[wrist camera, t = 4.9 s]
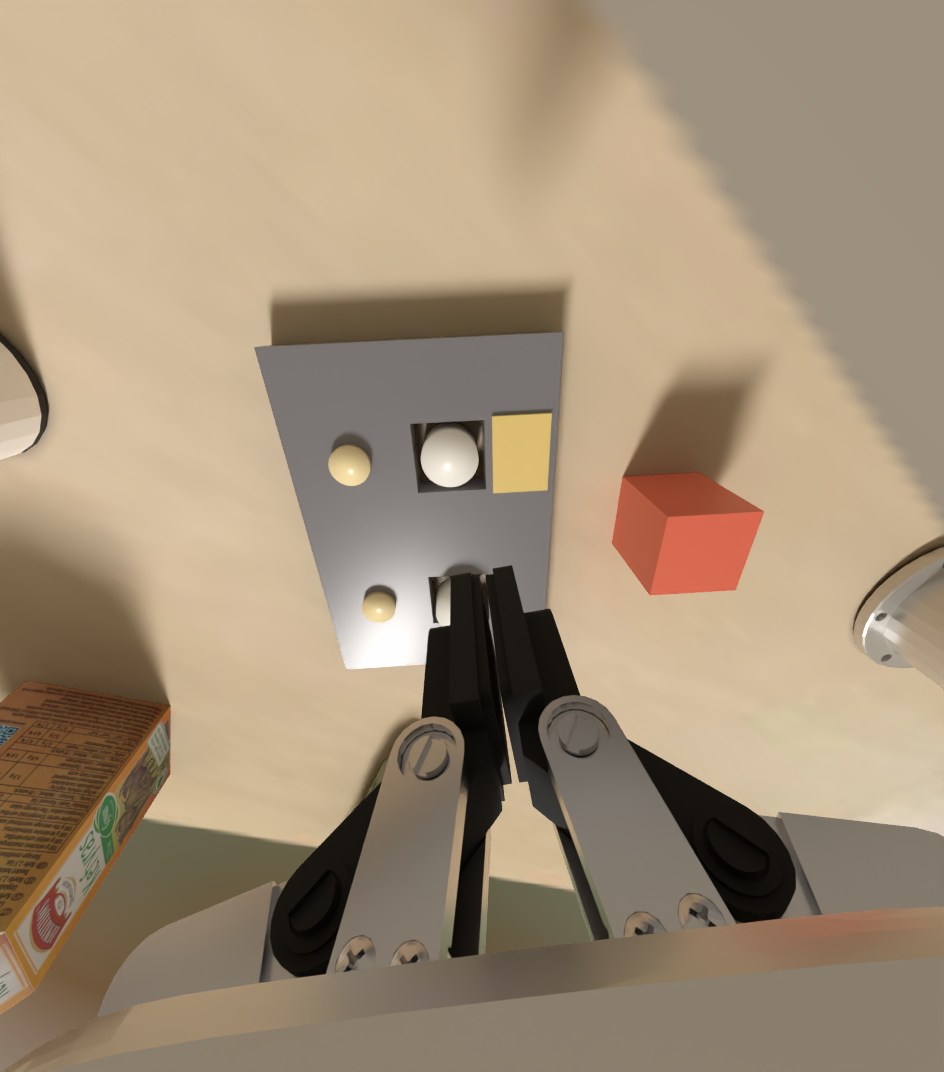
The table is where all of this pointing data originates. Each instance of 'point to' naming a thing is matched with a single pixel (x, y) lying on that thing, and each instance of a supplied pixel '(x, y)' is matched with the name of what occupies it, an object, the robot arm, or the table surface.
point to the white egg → (443, 603)
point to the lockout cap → (683, 532)
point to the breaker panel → (416, 474)
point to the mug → (19, 403)
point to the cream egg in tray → (449, 455)
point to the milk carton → (66, 812)
